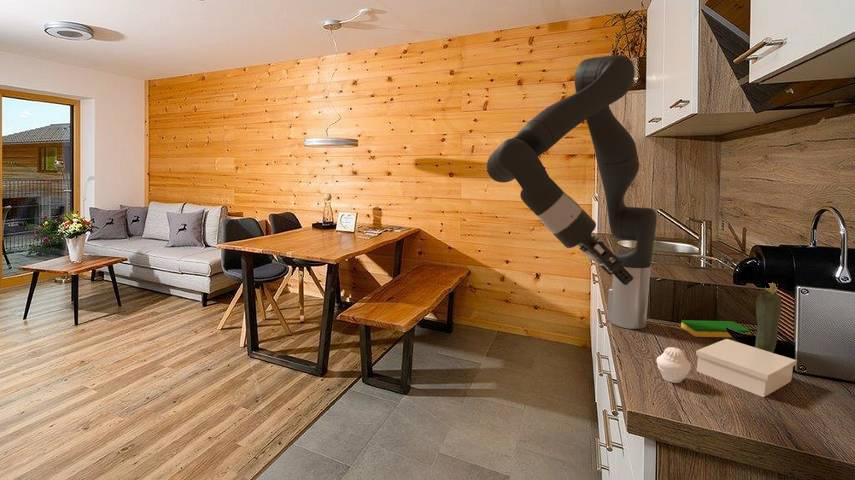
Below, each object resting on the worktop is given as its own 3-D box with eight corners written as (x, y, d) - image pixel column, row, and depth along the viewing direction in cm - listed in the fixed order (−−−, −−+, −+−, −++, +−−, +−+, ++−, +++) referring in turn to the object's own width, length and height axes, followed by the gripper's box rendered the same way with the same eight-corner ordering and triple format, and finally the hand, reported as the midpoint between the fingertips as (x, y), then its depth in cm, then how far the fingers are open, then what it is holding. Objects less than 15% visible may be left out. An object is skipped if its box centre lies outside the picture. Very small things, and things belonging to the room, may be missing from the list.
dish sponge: (680, 328, 113) (680, 319, 112) (732, 329, 111) (733, 320, 111) (694, 338, 106) (695, 329, 105) (750, 339, 104) (751, 330, 104)
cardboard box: (694, 372, 87) (696, 350, 86) (723, 359, 93) (726, 338, 92) (764, 400, 76) (768, 375, 75) (793, 383, 82) (796, 360, 81)
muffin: (668, 387, 80) (671, 354, 79) (648, 373, 86) (651, 342, 85) (696, 386, 81) (700, 353, 80) (675, 371, 87) (678, 340, 86)
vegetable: (778, 365, 89) (790, 278, 86) (756, 364, 90) (767, 277, 87) (766, 357, 93) (777, 273, 90) (745, 355, 94) (755, 272, 91)
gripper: (590, 209, 73) (651, 272, 74) (571, 204, 87) (622, 257, 88) (559, 237, 74) (619, 299, 75) (545, 228, 88) (595, 280, 89)
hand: (620, 276), depth 81 cm, fingers open, 8 cm apart
